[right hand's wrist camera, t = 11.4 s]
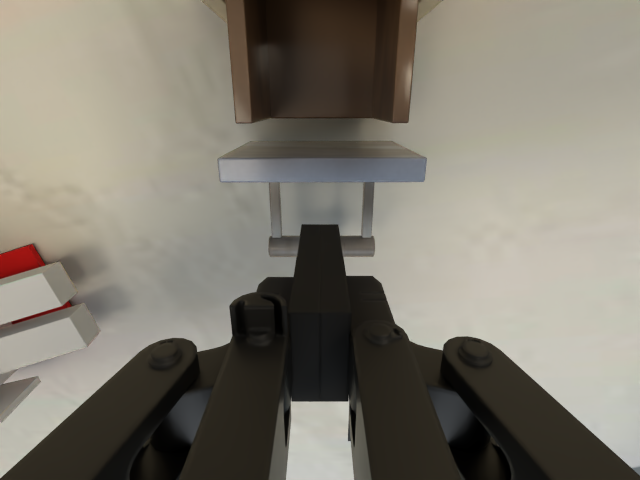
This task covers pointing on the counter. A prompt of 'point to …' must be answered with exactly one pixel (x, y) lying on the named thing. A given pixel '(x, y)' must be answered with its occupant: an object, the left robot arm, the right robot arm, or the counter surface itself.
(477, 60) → the counter surface
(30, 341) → the toy
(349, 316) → the right robot arm
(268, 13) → the drawer
